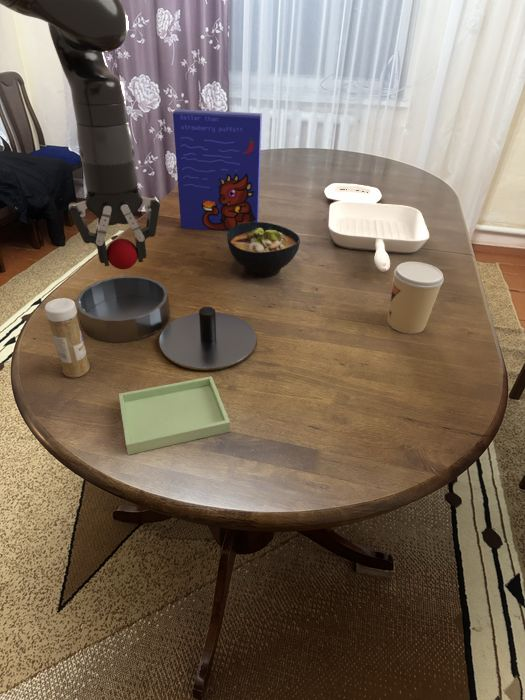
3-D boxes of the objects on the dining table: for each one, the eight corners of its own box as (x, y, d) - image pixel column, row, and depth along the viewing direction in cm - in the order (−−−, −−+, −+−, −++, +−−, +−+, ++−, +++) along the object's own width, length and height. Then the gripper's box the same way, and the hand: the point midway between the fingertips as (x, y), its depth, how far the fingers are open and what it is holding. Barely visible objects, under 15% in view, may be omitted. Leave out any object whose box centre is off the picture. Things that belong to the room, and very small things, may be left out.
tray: (128, 455, 67) (125, 445, 65) (120, 403, 75) (118, 393, 74) (230, 431, 71) (230, 422, 70) (212, 385, 79) (211, 376, 78)
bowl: (263, 294, 105) (265, 253, 99) (213, 268, 114) (212, 229, 108) (311, 270, 115) (315, 232, 109) (261, 248, 124) (262, 212, 118)
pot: (83, 349, 86) (77, 326, 83) (80, 302, 99) (75, 281, 96) (176, 334, 91) (174, 312, 88) (162, 291, 104) (160, 271, 101)
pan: (415, 221, 144) (419, 206, 141) (438, 289, 109) (444, 271, 107) (328, 213, 146) (330, 199, 144) (323, 278, 112) (326, 260, 109)
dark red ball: (110, 276, 76) (105, 247, 73) (107, 263, 80) (103, 235, 77) (141, 272, 78) (138, 244, 75) (137, 260, 81) (134, 232, 79)
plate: (379, 211, 150) (380, 205, 149) (320, 204, 153) (321, 198, 152) (381, 192, 165) (382, 187, 164) (327, 186, 168) (328, 181, 167)
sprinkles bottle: (94, 372, 81) (78, 306, 73) (67, 382, 79) (48, 314, 71) (85, 359, 84) (69, 294, 76) (59, 367, 82) (40, 301, 74)
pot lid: (169, 381, 80) (165, 348, 76) (152, 324, 94) (149, 293, 89) (269, 362, 85) (271, 330, 81) (240, 310, 99) (240, 281, 95)
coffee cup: (390, 307, 102) (401, 256, 95) (433, 319, 99) (448, 267, 92) (377, 327, 95) (389, 275, 88) (423, 341, 92) (439, 287, 85)
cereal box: (258, 224, 137) (261, 112, 120) (256, 232, 133) (260, 116, 115) (185, 220, 138) (177, 108, 120) (181, 228, 133) (172, 112, 115)
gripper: (152, 147, 73) (162, 248, 83) (55, 151, 69) (77, 257, 79) (161, 160, 67) (170, 267, 78) (55, 165, 63) (79, 277, 73)
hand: (123, 261), depth 78 cm, fingers closed on dark red ball, 5 cm apart
